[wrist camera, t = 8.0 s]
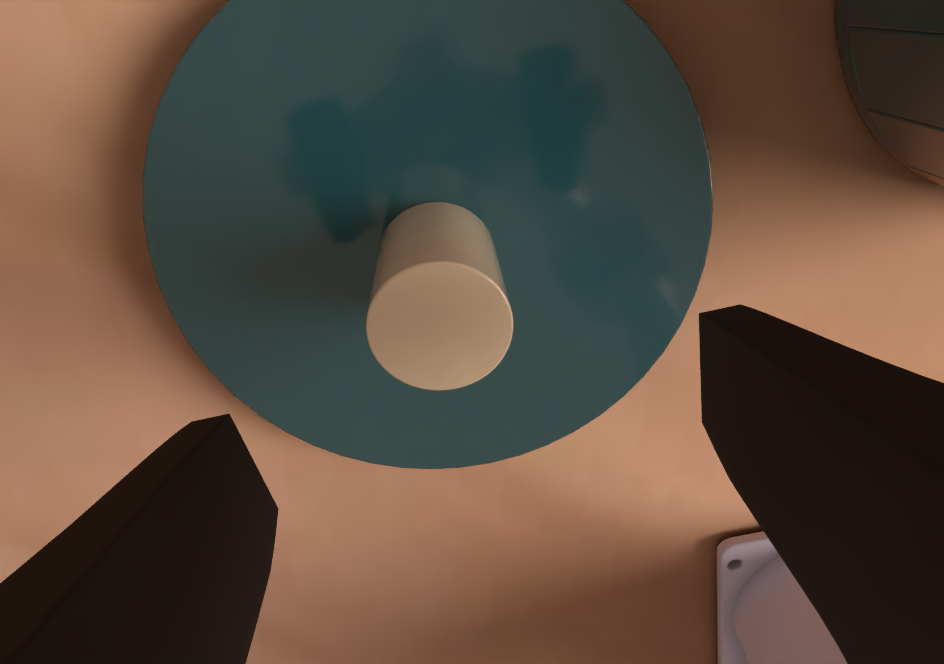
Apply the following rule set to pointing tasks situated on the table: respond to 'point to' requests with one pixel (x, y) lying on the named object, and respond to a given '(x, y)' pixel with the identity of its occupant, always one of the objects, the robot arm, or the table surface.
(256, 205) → the lid
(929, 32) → the pot
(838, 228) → the table surface
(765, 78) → the table surface
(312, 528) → the table surface
